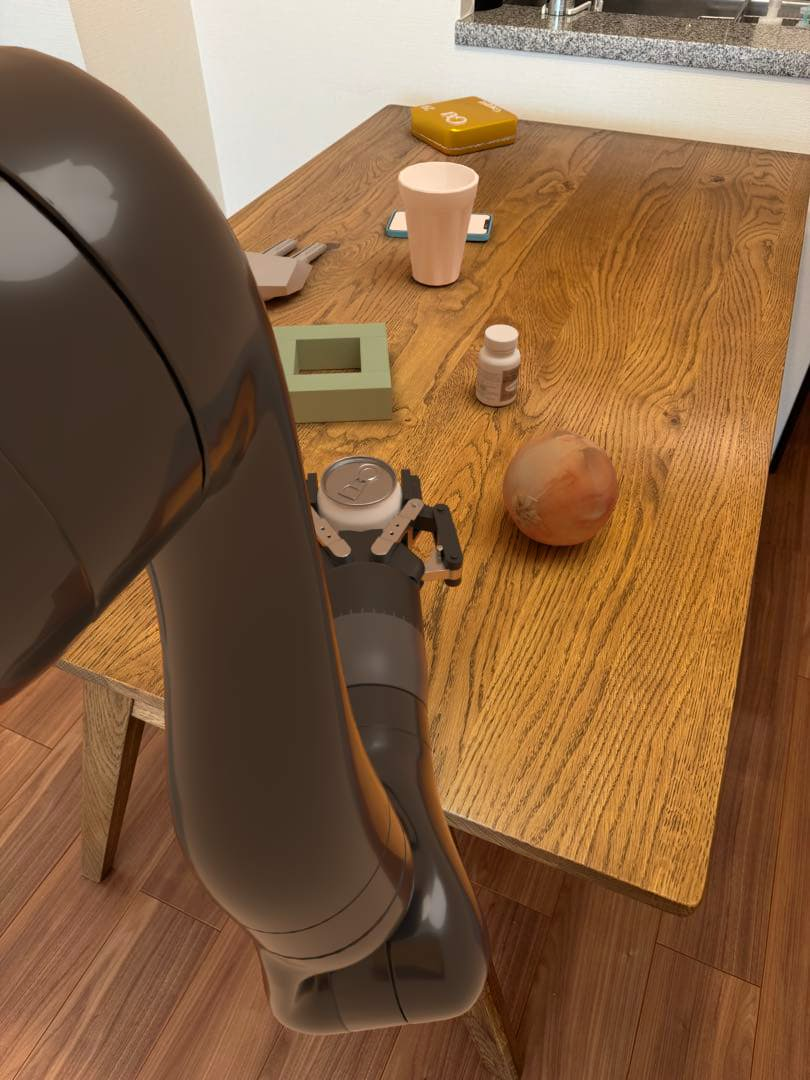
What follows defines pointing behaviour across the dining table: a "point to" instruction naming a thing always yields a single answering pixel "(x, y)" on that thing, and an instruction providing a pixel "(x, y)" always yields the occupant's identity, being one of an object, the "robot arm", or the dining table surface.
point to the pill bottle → (498, 366)
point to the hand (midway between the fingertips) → (359, 479)
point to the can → (359, 494)
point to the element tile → (463, 124)
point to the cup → (437, 217)
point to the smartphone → (476, 231)
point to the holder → (337, 391)
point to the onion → (560, 488)
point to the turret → (282, 267)
